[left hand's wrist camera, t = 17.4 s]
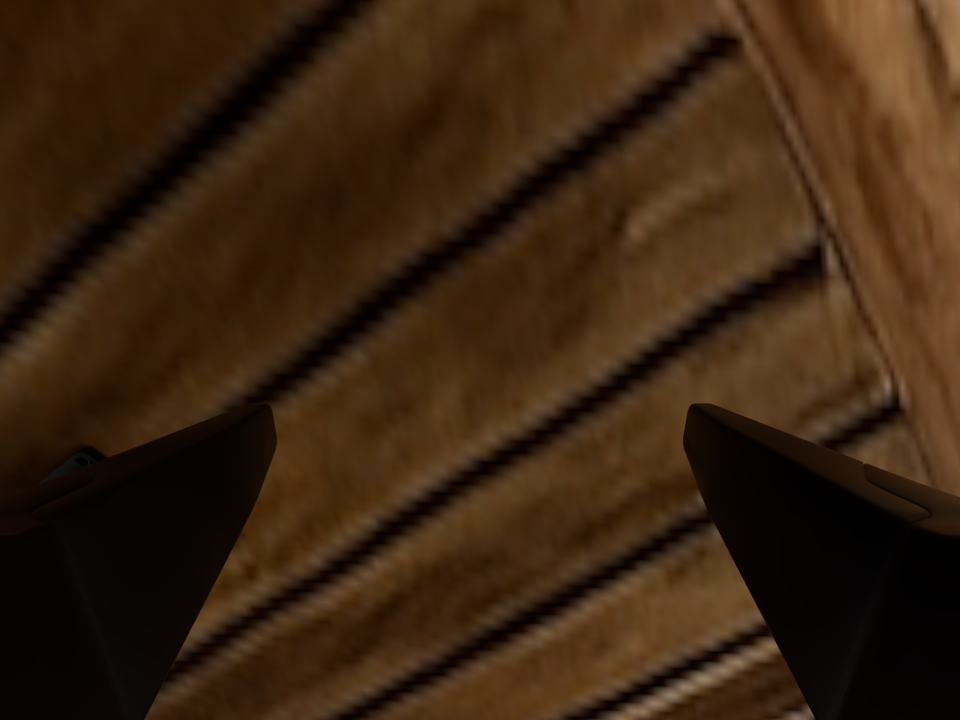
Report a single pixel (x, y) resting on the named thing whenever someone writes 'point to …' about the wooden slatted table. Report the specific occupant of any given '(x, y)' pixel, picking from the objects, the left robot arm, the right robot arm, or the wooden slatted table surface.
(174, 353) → the wooden slatted table surface
